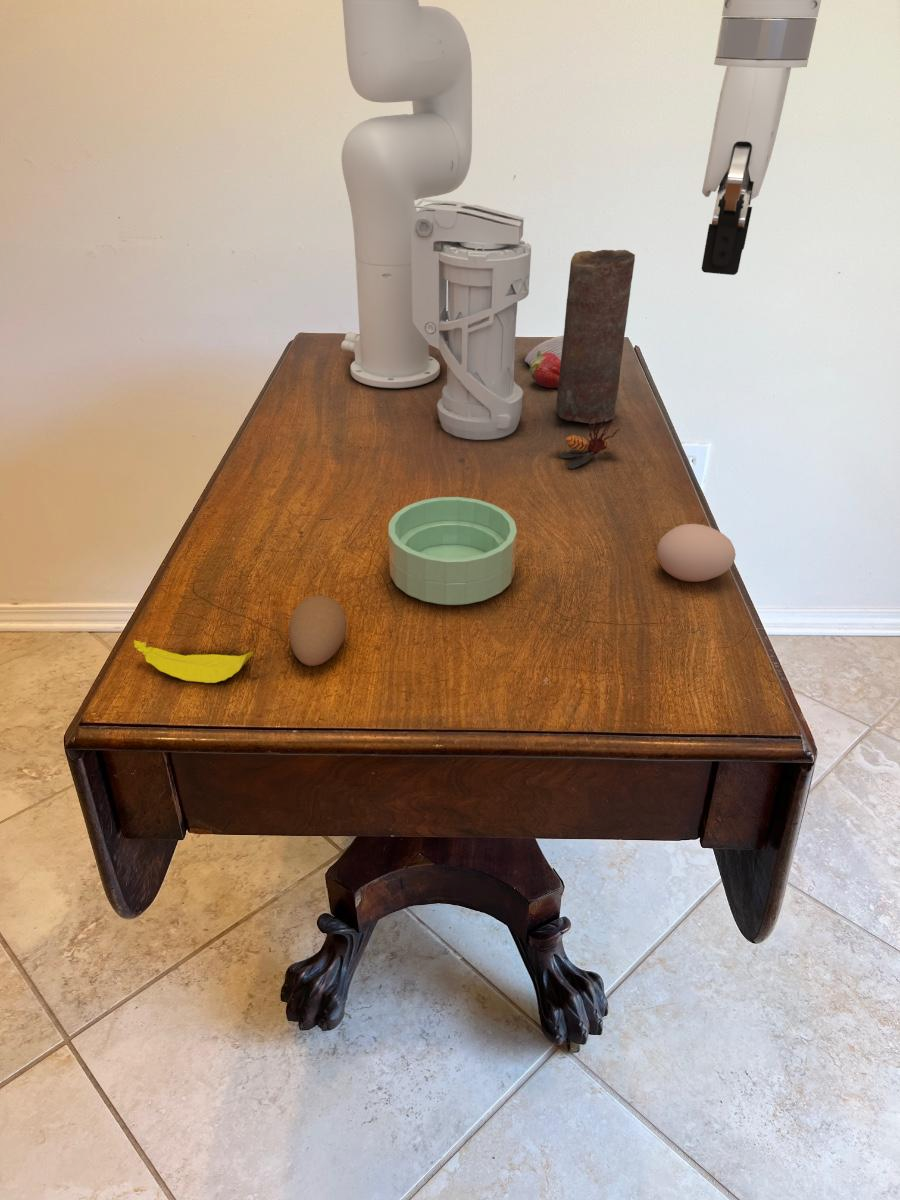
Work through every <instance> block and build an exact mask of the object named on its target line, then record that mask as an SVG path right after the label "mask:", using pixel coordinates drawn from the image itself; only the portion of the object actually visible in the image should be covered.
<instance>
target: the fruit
mask: <svg viewBox="0 0 900 1200" xmlns="http://www.w3.org/2000/svg"><path fill="white" fill-rule="evenodd" d="M540 352H541V351H539V350H538V352H537V354H538V355H536V356H537V358H536V359H535V361H534V362H533V364H532V363H530V362H529V364H530V365H531V367H529V374H530V376H531V378H532V379H533V381H535V383H536V384H538V385H539V386H540V387H542V388H548V389H554V388H555V389H558V384H559V374H560V364H561V360H560V359H559V358H558V357H557V356H556V355H555V354H552V353H544V354H541V353H540ZM529 364H528V365H529ZM530 365H529V366H530Z"/></svg>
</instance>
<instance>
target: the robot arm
mask: <svg viewBox="0 0 900 1200" xmlns="http://www.w3.org/2000/svg"><path fill="white" fill-rule="evenodd" d="M341 2H342V13H343V26H344V40H345V52H346V62H347V69H348V75H349V80H350V83H351V85H352V88H353V89H354V91H355V93H356V94H357V95H358V96H360V97H361V98H362V99H364V100H365V101H369V102H372V103H385V104H386V103H404V102H411V105H412V113H409V114H408V113H407V114H406V113H405V114H404V113H403V114H393V115H383V116H382V115H381V116H377V117H371V118H369V119H366V120H363V121H361V122H359V123H357V124H356V125H355V126H354V127H353V128H352V129H351V130H350V131H349V132H348V134H347V135H346V137H345V139H344V141H343V144H342V149H341V168H342V174H343V179H344V184H345V187H346V192H347V197H348V200H349V206H350V212H351V219H352V228H353V241H354V243H353V244H354V256H355V257H354V258H355V275H356V291H357V311H358V329H359V333H355V332H351V331H349V332H347V333H345V336H344V340H343V341H341V346H340V347H341V349H342V351H346V352H351V353H354V361H352V363H351V364H350V375H351V377H352V378H353V379H354V380H355V381H357V382H359V383H361V384H364V385H367V386H370V387H375V388H382V389H406V388H413V387H419V386H423V385H425V384H428V383H430V382H432V381H434V380H436V378H439V377H438V376H439V375H440V373H441V367H440V363H439V361H438V360H437V359H436V358H434V357H432V356H430V344H429V343H428V342H427V341H426V339H425V338H424V337H423V335H422V334H421V333H420V332H419V330H418V329H417V328H416V326H415V325H414V323H413V321H412V269H411V218H412V217H413V216H414V214H415V213H416V212H417V211H418V208H414V206H415V205H416V204H415V201H418V200H422V199H428V198H433V197H438V196H442V195H446V194H450V193H452V192H454V191H455V190H457V189H458V188H459V187H460V186H462V184H463V183H464V181H465V180H466V178H467V176H468V174H469V170H470V168H471V163H472V153H473V152H472V151H473V67H472V63H473V62H472V54H471V48H470V44H469V40H468V36H467V35H466V32H465V29H464V27H463V26H462V24H461V22H460V20H458V18H457V17H456V16H455V15H454V14H452V12H450V11H449V10H447V9H444V8H441V7H439V6H430V5H420V2H419V0H342V1H341ZM821 3H822V0H723V7H722V14H721V20H720V26H719V32H718V37H717V38H718V39H717V45H716V50H715V57H714V63H713V64H714V65H715V66H723V67H726V68H725V72H724V76H723V79H722V83H721V87H720V92H719V97H718V102H717V108H716V111H715V112H716V113H715V118H714V123H713V130H712V135H711V140H710V146H709V152H708V157H707V164H706V169H705V174H704V179H703V185H702V189H701V193H702V195H703V196H704V197H705V198H709V197H710V195H711V194H712V193H713V192H715V193H716V192H717V195H716V199H715V205H714V210H713V214H712V220H711V223H709V224H708V229H707V233H706V234H707V235H706V239H705V245H704V252H703V258H702V261H701V262H702V263H701V271H702V272H703V273H705V274H717V275H718V274H719V275H729V276H735V275H737V273H738V272H739V269H740V264H741V259H742V258H741V257H742V254H743V250H744V249H745V245H746V241H747V240H746V239H747V236H748V230H749V225H750V221H751V215H752V210H753V206H751V202H752V200H754V199H755V198H757V197H758V196H759V195H760V191H761V189H762V186H763V183H764V180H765V178H766V174H767V171H768V169H769V165H770V161H771V159H772V158H771V157H772V154H773V150H774V147H775V142H776V139H777V135H778V131H779V127H780V122H781V118H782V113H783V108H784V104H785V100H786V99H785V98H786V94H787V90H788V84H789V81H790V76H791V71H792V69H793V68H807V67H808V64H809V58H810V53H811V49H812V44H813V41H814V35H815V30H816V26H817V21H818V20H817V18H818V16H819V11H820V8H821Z"/></svg>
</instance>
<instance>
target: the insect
mask: <svg viewBox="0 0 900 1200" xmlns="http://www.w3.org/2000/svg"><path fill="white" fill-rule="evenodd" d="M591 419H592V417H591ZM591 419H590V420H589V423H588V427H589V428H588V429H589V434H588V437H589V438H590V439H589V440H588V439H587V438H585V437H582V436H579V435H577V434H576V435H575V434H571V435H568V436H567V437H566V438H565V443H566V444H567V446H568V447H569V448H570V449H571V450H569V451H566V452H562V453H559V454H558V455H557V457H558V458H560V459H571V458H576V457H579V456H582V457H580V458H576V459H574V460H573V461H571V462H570V463H569V464H568V466H567V468H568V469H569V470H573V469H577V468H579V467H580V466H582V465H583V464H586V463H587V462H588V461H590V460H591V459H592V458H593V457H595V456H596V455H597V454H598V453H600V452H601V451H603V454H605V456H607V457H609V458H611V457H613V455H608V453H607V451H609V450H610V448H611V447H610V446H609V448H608V450H607V451H606V449H607V447H608V439H610V438H613V437H614V436H615V435H616V434H617V432H618V431H620V428H619V429H616V430H615V431H614V433H612V434H613V435H609V436H606V437H605V435H606V434H607V433H608V431H609V430H610V427H611V426H612V425H611V424H613V422H612V421H611V422H610V423H607V425H606V426H605V428H604V429H603V431H602V433H601V434H600V435H599V436H598V434H599V432H600V430H601V428H602V427H603V424H604V421H605V419H604V420H603V421H602V422H600V424H599V426H598V428H597V430H596V429H595V426H596V425H597V423H596V421H595V423H593V426H592V425H591V424H590V421H591ZM605 422H606V421H605ZM592 432H593V435H592ZM583 455H585V456H583Z"/></svg>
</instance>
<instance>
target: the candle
mask: <svg viewBox="0 0 900 1200" xmlns="http://www.w3.org/2000/svg"><path fill="white" fill-rule="evenodd" d="M635 259H636V254H635V253H633V252H631V251H629V250H627V249H616V250H613V249H600V250H596V251H591V250H582V251H578V252H574V254H573V255H572V257H571V260H570V266H569V268H570V269H569V275H568V276H569V277H568V286H567V296H566V304H565V305H566V306H565V317H564V329H563V336H564V337H563V346H562V356H561V364H560V374H559V384H558V388H557V395H556V405H555V406H556V407H555V409H556V412H557V415H558V416H559V417H560V418H561V419H562V420H563V421H564V422H572V423H573V422H576V423H584V424H589V420H590V419H591V417H592V419H591V421H590V425H591V424H594V423H595V421H596V424H597V423H601V422H602V421H603V420H604V419H605V421H604V422H608V421H610V420H613V419H614V418H615V413H616V407H617V399H618V392H619V384H620V377H621V367H622V360H623V351H624V343H625V335H626V334H625V333H626V329H627V319H628V312H629V304H630V297H631V291H632V290H631V288H632V281H633V274H634V268H635ZM604 422H603V423H604Z"/></svg>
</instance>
